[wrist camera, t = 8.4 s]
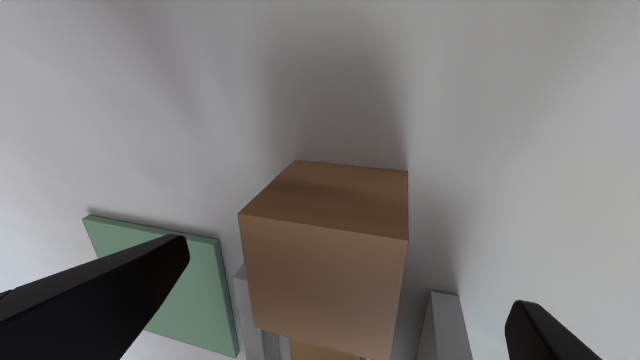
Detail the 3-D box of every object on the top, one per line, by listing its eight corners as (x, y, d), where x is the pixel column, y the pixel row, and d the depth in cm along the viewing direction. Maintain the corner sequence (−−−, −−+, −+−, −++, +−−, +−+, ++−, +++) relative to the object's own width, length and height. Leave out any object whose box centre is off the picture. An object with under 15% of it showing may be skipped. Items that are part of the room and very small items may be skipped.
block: (395, 264, 11) (389, 364, 7) (299, 247, 12) (254, 327, 8) (408, 170, 9) (408, 241, 6) (295, 159, 10) (237, 213, 7)
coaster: (239, 352, 16) (235, 358, 16) (131, 319, 18) (125, 324, 18) (218, 239, 13) (213, 245, 13) (89, 215, 15) (81, 219, 15)
